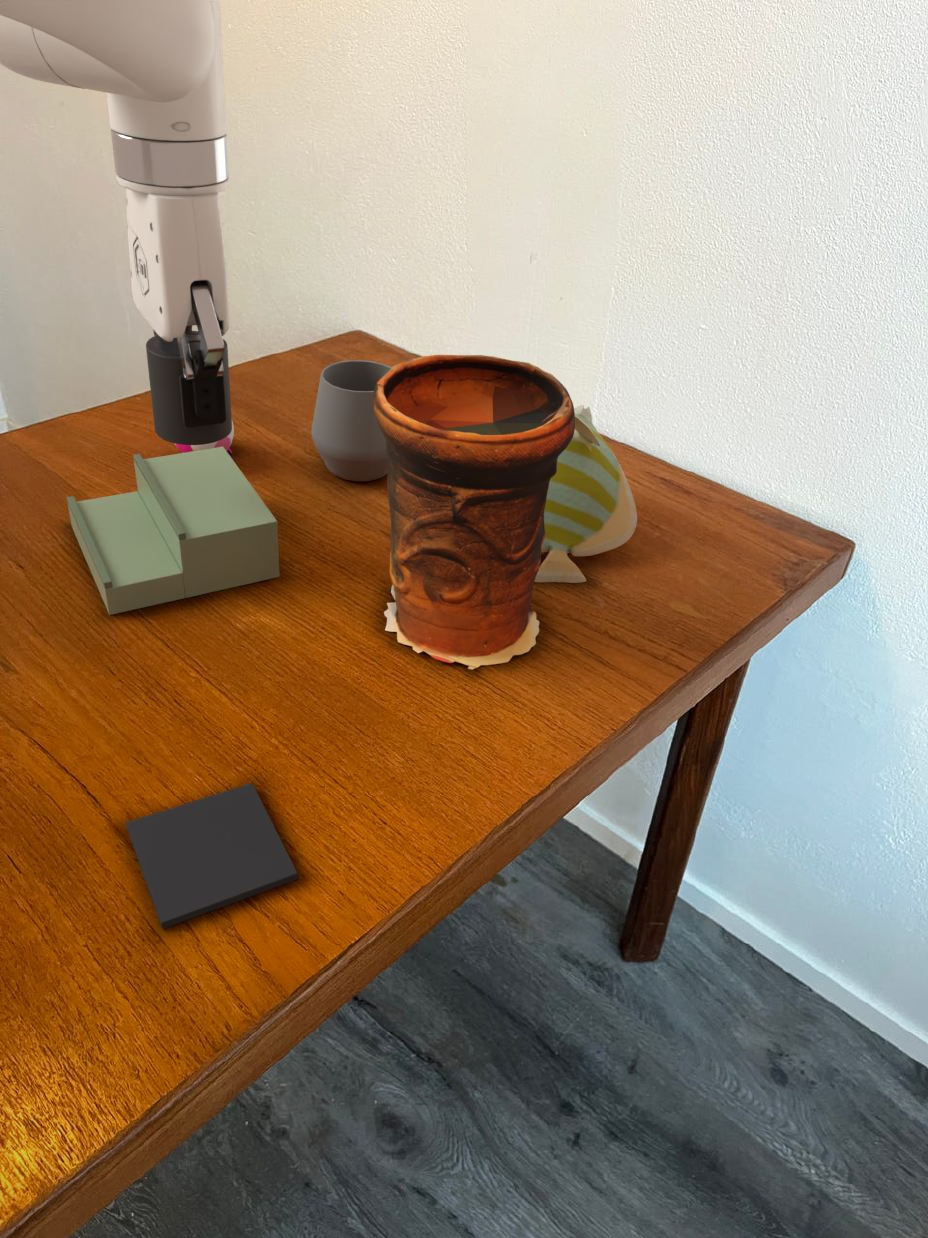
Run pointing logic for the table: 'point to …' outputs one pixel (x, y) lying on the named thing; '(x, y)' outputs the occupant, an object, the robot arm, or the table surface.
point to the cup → (350, 421)
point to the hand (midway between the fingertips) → (191, 404)
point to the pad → (209, 854)
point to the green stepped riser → (177, 532)
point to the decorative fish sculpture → (585, 504)
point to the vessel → (468, 499)
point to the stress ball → (222, 443)
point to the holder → (167, 394)
